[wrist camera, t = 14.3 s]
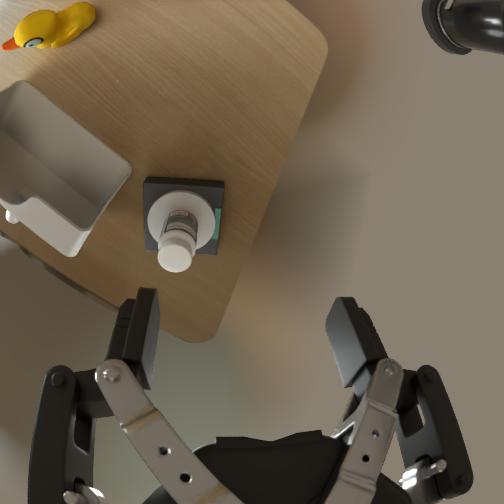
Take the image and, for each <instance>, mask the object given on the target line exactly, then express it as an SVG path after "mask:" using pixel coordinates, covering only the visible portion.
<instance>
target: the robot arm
mask: <svg viewBox="0 0 504 504" xmlns="http://www.w3.org/2000/svg"><path fill="white" fill-rule="evenodd" d="M435 16H436V21H437V24H438V27H439V29H440V31H441V32H442V34H443V36H444V37H445V38H446V39H447V40H448V41H449V42H450V43H451V44H452V45H454V46H456V47H458V48H468V49H473V50H481V51H487V52H494V53H498V54H503V55H504V0H439V1H438V2H437V4H436V7H435ZM159 325H160V310H159V301H158V292H157V289H154V288H142V287H140V288H139V290H138V294H137V298H136V299H127V300H126V301H125V302H124V303H123V304H122V305H121V307H120V309H119V313H118V316H117V319H116V323H115V327H114V330H113V333H112V337H111V341H110V344H109V348H108V352H107V356H106V359H105V360H104V361H103V362H102V363H100V365H99V366H98V367H97V368H95V369H92V370H88V371H80V372H72V370H71V369H70V368H68V367H66V366H63V365H58V366H54V367H52V368H51V369H50V370H49V371H48V372H47V373H46V375H45V377H44V381H43V385H42V390H41V394H40V398H39V403H38V408H37V413H36V419H35V424H34V431H33V437H32V445H31V453H30V463H29V476H28V504H108V502H107V500H106V498H105V497H104V495H103V494H102V493H101V492H99V491H98V490H96V489H93V461H94V442H95V429H96V419H97V418H102V417H109V416H116V418H117V420H118V422H119V423H120V425H121V427H122V429H123V431H124V432H125V434H126V436H127V437H128V439H129V440H130V442H131V443H132V445H133V446H134V448H135V449H136V451H137V452H138V454H139V455H140V457H141V458H142V459H143V461H144V462H145V464H146V465H147V466H148V468H149V469H150V470H151V471H152V473H153V474H154V475H155V477H156V478H157V479H158V481H159V482H160V483H161V485H160V486H159V487H158V488H157V489H156V490H155V491H154V492H153V493H152V494H151V495H150V496H149V498H147V499H146V500H145V501H144V502H143V503H142V504H436V503H439V502H443V501H445V500H448V499H451V498H454V497H457V496H460V495H462V494H465V493H466V492H468V491H469V490H470V488H471V486H472V484H473V472H472V468H471V464H470V461H469V457H468V454H467V450H466V447H465V443H464V440H463V437H462V434H461V431H460V428H459V425H458V422H457V419H456V416H455V414H454V411H453V408H452V406H451V403H450V400H449V397H448V395H447V392H446V390H445V387H444V385H443V382H442V380H441V378H440V375H439V373H438V372H437V370H436V369H435V368H433V367H432V366H430V365H423V366H421V367H420V368H419V369H418V370H417V371H412V370H406V369H402V367H401V365H400V364H399V363H398V362H396V361H395V360H393V359H390V358H388V356H387V353H386V351H385V349H384V347H383V344H382V342H381V340H380V338H379V335H378V333H376V329H375V327H374V326H373V323H372V320H371V319H370V316H369V315H368V314H367V313H366V312H365V311H364V310H363V308H359V307H358V305H357V303H356V301H355V299H354V298H353V297H337V298H336V299H335V302H334V304H333V306H332V308H331V310H330V312H329V314H328V316H327V319H326V324H325V328H326V332H327V335H328V338H329V342H330V345H331V347H332V351H333V353H334V357H335V360H336V363H337V366H338V369H339V373H340V376H341V379H342V382H343V386H344V388H348V387H353V389H354V392H353V393H352V395H351V397H350V399H349V402H348V404H347V406H346V408H345V411H344V413H343V415H342V417H341V419H340V422H339V424H338V425H337V427H336V428H335V430H334V431H333V432H332V434H331V435H330V437H329V436H324V435H322V432H321V430H315V431H308V432H301V433H295V434H293V435H290V436H287V437H284V438H281V439H278V440H275V441H264V440H258V439H253V438H248V437H216V440H215V442H213V443H208V444H206V445H203V446H201V447H199V448H197V449H195V450H194V451H191V450H190V449H189V448H188V446H187V445H186V444H185V442H184V441H183V440H182V439H181V438H180V436H179V435H178V434H177V433H176V431H175V430H174V429H173V427H172V426H171V425H170V423H169V422H168V421H167V420H166V418H165V417H164V416H163V414H162V413H161V412H160V411H159V410H158V409H157V408H156V407H155V406H154V405H153V403H152V402H151V401H150V399H149V398H148V396H147V395H146V393H145V392H144V389H147V390H151V381H152V374H153V366H154V359H155V352H156V345H157V338H158V332H159ZM418 404H420V406H421V409H422V413H423V416H424V419H425V425H424V426H423V423H422V420H421V416H420V414H419V411H418V407H417V405H418ZM395 430H396V434H397V438H398V441H399V445H400V449H401V453H402V457H403V462H404V466H405V471H404V473H403V477H402V478H401V479H400V485H401V486H402V487H400V486H399V485H397V484H396V483H395V482H393V481H392V480H390V479H389V478H388V477H386V476H385V475H384V474H382V473H381V472H380V471H381V468H382V466H383V463H384V461H385V458H386V455H387V452H388V449H389V446H390V444H391V440H392V437H393V434H394V431H395Z"/></svg>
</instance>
